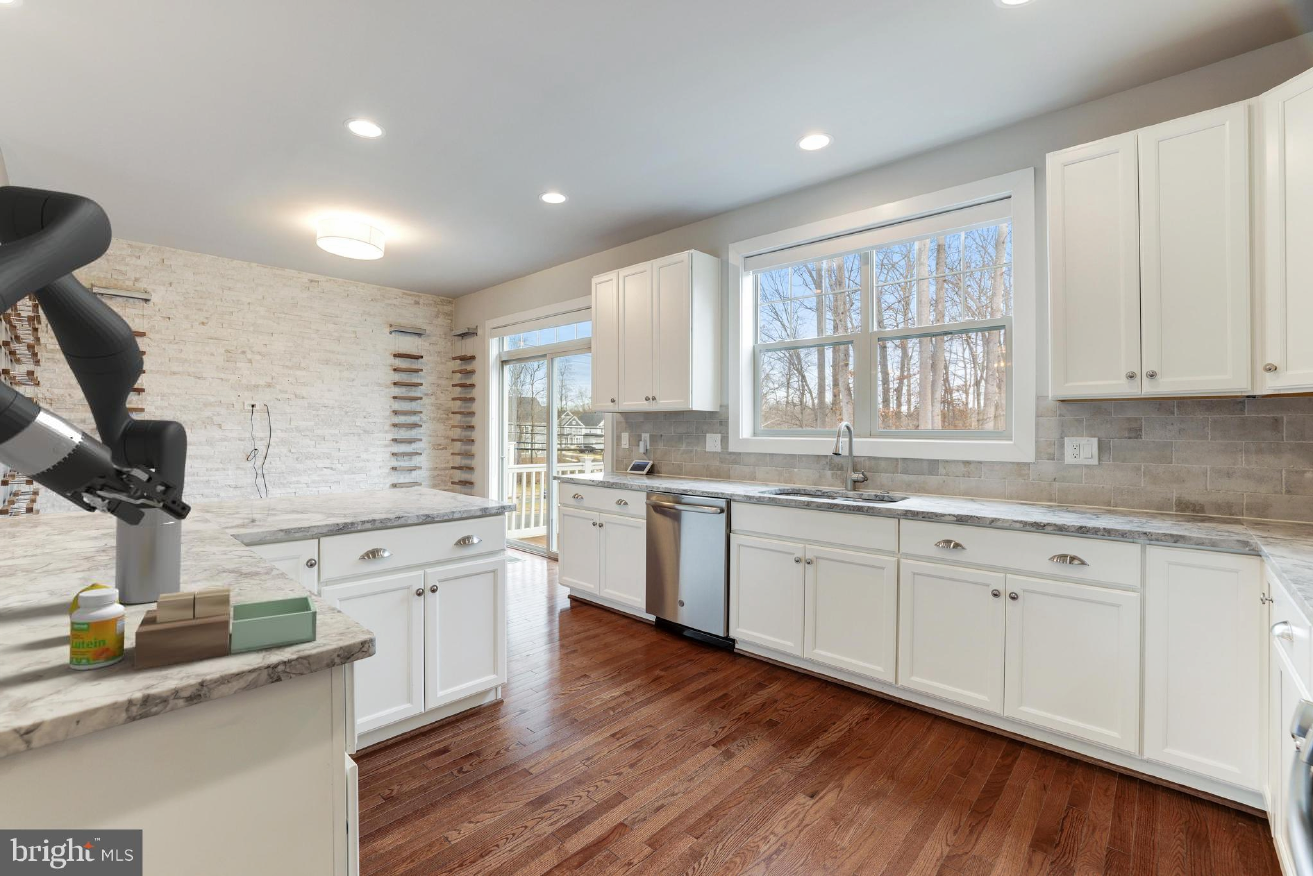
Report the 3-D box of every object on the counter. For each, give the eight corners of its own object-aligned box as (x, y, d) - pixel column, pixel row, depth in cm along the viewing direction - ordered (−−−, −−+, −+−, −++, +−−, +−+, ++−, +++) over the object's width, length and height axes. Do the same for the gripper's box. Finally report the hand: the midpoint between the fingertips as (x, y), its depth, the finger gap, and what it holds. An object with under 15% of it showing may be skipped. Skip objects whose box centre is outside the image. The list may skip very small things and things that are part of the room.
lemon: (87, 643, 86) (88, 589, 86) (58, 639, 87) (60, 586, 87) (128, 630, 92) (129, 580, 92) (100, 627, 93) (101, 577, 93)
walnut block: (146, 643, 87) (147, 610, 87) (229, 632, 92) (230, 600, 92) (134, 669, 78) (135, 632, 78) (227, 655, 83) (228, 620, 83)
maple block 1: (160, 615, 85) (160, 594, 85) (195, 610, 87) (195, 590, 87) (156, 622, 82) (156, 601, 81) (192, 618, 84) (193, 597, 84)
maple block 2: (196, 610, 87) (197, 590, 87) (229, 606, 90) (230, 587, 89) (194, 618, 84) (195, 597, 84) (229, 613, 86) (229, 593, 86)
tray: (232, 632, 92) (233, 604, 92) (310, 621, 98) (311, 595, 98) (231, 653, 84) (231, 622, 84) (315, 640, 90) (316, 611, 90)
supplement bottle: (60, 673, 76) (61, 599, 76) (81, 658, 81) (82, 588, 81) (113, 667, 78) (115, 595, 78) (130, 653, 83) (132, 585, 83)
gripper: (112, 419, 73) (216, 490, 85) (28, 432, 76) (140, 500, 88) (71, 467, 68) (187, 536, 81) (-16, 480, 71) (108, 544, 84)
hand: (162, 517), depth 84 cm, fingers open, 8 cm apart
